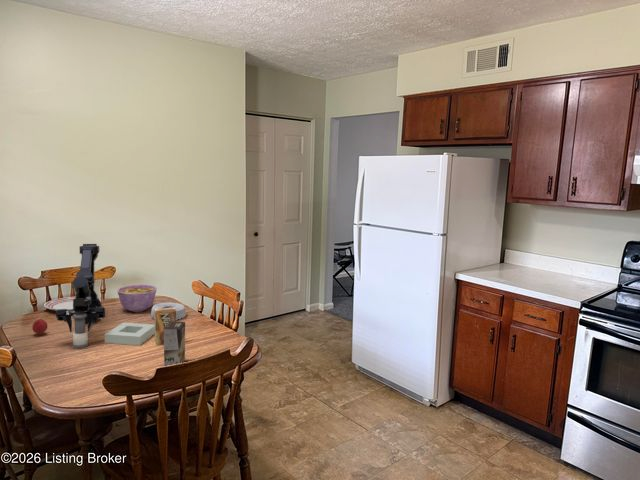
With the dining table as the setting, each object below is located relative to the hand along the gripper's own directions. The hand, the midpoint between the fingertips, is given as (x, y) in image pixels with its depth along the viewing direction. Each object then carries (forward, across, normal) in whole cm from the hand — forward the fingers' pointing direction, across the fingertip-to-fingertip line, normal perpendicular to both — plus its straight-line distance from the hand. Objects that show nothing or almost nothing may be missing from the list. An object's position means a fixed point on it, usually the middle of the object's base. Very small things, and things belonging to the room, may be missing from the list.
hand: (79, 331), depth 188 cm
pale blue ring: (-19, +37, +30) cm, 51 cm away
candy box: (+7, +35, +3) cm, 35 cm away
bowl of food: (-30, +22, +40) cm, 55 cm away
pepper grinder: (+4, 0, +6) cm, 7 cm away
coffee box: (+24, +38, -14) cm, 47 cm away
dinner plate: (-38, -12, +49) cm, 63 cm away
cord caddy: (0, +20, +10) cm, 22 cm away
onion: (-9, -19, +19) cm, 29 cm away
